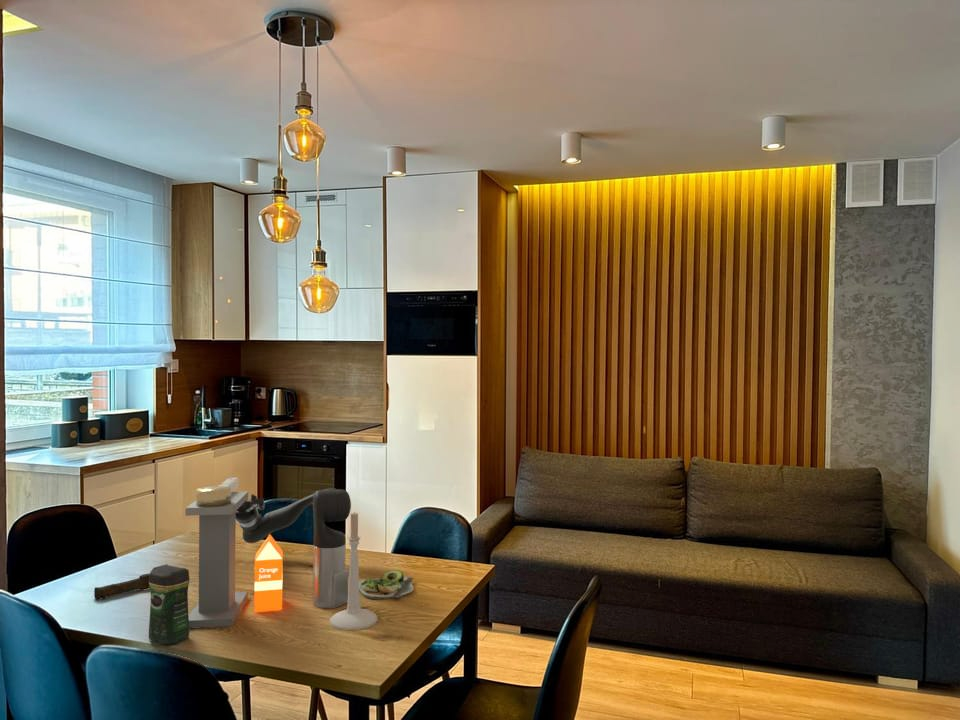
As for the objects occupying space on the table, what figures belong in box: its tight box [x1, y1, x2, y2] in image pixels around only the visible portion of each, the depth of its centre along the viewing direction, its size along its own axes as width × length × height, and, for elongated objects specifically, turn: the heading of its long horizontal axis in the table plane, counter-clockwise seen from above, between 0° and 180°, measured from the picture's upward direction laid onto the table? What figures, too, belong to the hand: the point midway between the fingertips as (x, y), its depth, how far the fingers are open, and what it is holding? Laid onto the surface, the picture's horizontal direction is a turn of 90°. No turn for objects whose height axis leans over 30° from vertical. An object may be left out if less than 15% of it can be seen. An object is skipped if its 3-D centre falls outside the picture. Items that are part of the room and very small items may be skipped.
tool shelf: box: [185, 491, 249, 629], centre depth 194 cm, size 22×12×32 cm, turn 8°
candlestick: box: [329, 511, 378, 631], centre depth 188 cm, size 13×13×30 cm
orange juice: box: [253, 534, 284, 613], centre depth 200 cm, size 8×9×20 cm
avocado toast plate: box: [359, 569, 415, 600], centre depth 213 cm, size 19×18×5 cm
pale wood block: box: [195, 477, 240, 507], centre depth 199 cm, size 30×9×4 cm, turn 8°
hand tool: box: [93, 572, 150, 601], centre depth 210 cm, size 19×4×5 cm, turn 136°
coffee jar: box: [148, 564, 191, 646], centre depth 175 cm, size 10×8×19 cm
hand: (238, 497), depth 222 cm, fingers open, 8 cm apart
